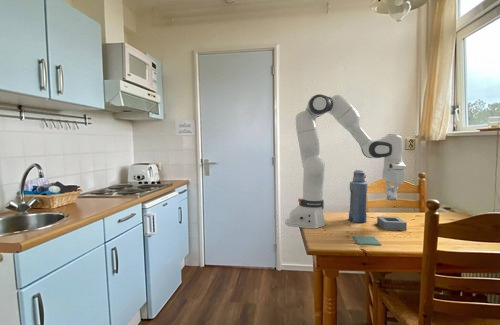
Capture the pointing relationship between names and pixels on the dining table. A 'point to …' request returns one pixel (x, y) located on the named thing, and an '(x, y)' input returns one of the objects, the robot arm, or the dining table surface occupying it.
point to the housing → (391, 223)
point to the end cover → (391, 193)
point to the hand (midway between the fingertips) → (391, 190)
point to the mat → (366, 240)
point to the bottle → (358, 197)
